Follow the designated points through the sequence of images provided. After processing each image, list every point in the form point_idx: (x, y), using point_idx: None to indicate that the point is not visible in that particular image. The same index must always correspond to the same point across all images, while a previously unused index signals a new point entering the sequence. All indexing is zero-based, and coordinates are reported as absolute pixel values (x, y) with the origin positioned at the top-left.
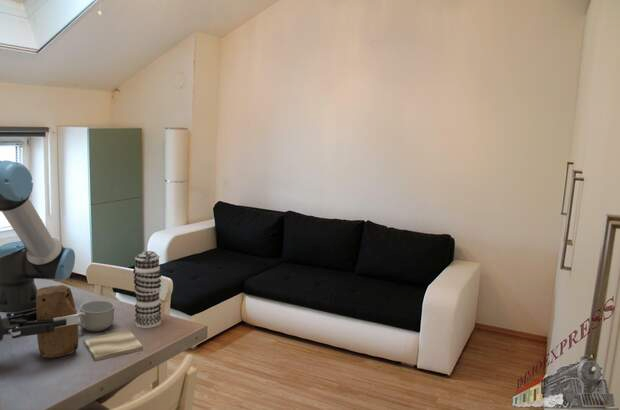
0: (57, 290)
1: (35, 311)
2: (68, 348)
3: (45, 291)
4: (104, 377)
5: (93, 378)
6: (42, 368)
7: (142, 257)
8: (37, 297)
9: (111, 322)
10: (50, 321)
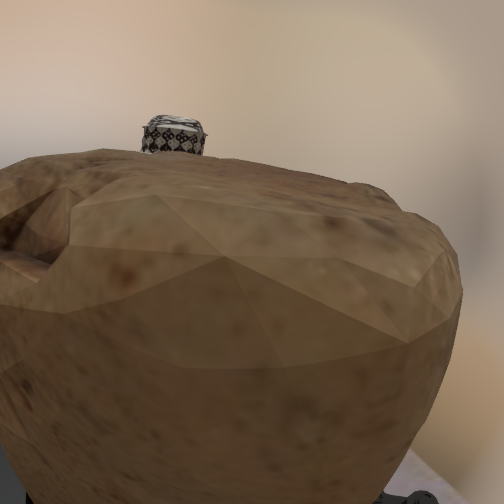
0: (333, 183)
1: (2, 497)
2: None
3: (289, 191)
4: (424, 464)
5: (424, 486)
6: None
7: (189, 123)
8: (426, 393)
9: None
10: (380, 501)
